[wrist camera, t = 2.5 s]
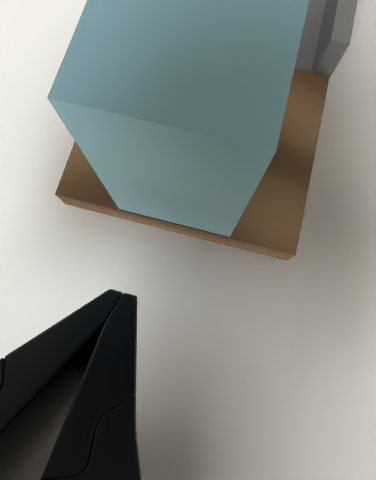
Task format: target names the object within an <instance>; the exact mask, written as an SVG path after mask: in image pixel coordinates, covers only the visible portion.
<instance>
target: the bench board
mask: <svg viewBox="0 0 376 480" xmlns="http://www.w3.org/2000/svg"><path fill="white" fill-rule="evenodd" d="M328 80H329V76H327V75H322V74H318V73H313V72H309V71H304V70H299V69H295V68H294V72H293V77H292V81H291V86H290V91H289V95H288V100H287V104H286V109H285V113H284V118H283V123H282V127H281V132H280V136H279V141H278V145H277V150H276V153H275V155H274V156H273V158H272V160H271V162H270V164H269V166H268V168H267V169H266V171H265V173H264V175H263V177H262V179H261V180H260V182H259V184H258V186H257V188H256V190H255V192H254V193H253V195H252V197H251V199H250V201H249V203H248V204H247V206H246V208H245V210H244V212H243V214H242V216H241V217H240V219H239V221H238V223H237V225H236V227H235V228H234V230H233V232H232V234H231V236H230V237H228V236H224V235H220V234H216V233H212V232H208V231H204V230H200V229H196V228H192V227H188V226H184V225H180V224H176V223H172V222H168V221H165V220H161V219H157V218H153V217H149V216H145V215H141V214H137V213H133V212H129V211H125V210H121V209H119V208H118V207H117V205H116V203H115V202H114V200H113V199H112V197H111V196H110V194H109V193H108V191H107V190H106V188H105V186H104V185H103V183H102V182H101V180H100V179H99V177H98V176H97V174H96V172H95V171H94V169H93V168H92V166H91V165H90V163H89V162H88V160H87V158H86V157H85V155H84V154H83V152H82V151H81V149H80V148H79V146H78V144H77V143H76V141H75V143H74V145H73V148H72V151H71V153H70V156H69V159H68V161H67V164H66V167H65V169H64V172H63V175H62V177H61V180H60V183H59V185H58V188H57V191H56V193H55V195H56V196H57V197H59V198H60V199H61V200H62V201H63V202H64V203H65V204H68V205H72V206H76V207H80V208H84V209H88V210H92V211H96V212H100V213H104V214H108V215H112V216H116V217H119V218H123V219H127V220H131V221H135V222H139V223H143V224H147V225H151V226H155V227H159V228H163V229H167V230H171V231H175V232H179V233H182V234H186V235H190V236H194V237H198V238H202V239H206V240H210V241H214V242H218V243H222V244H226V245H230V246H234V247H238V248H241V249H245V250H249V251H253V252H257V253H261V254H265V255H269V256H273V257H277V258H281V259H285V260H288V259H289V258H291V257H293V256H295V255H296V249H297V244H298V239H299V233H300V228H301V223H302V218H303V212H304V207H305V202H306V196H307V191H308V186H309V181H310V175H311V170H312V165H313V160H314V154H315V149H316V144H317V138H318V133H319V128H320V123H321V117H322V112H323V107H324V101H325V96H326V91H327V86H328Z"/></svg>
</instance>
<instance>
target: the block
mask: <svg viewBox="0 0 376 480" xmlns="http://www.w3.org/2000/svg"><path fill="white" fill-rule="evenodd" d="M308 4H309V0H87V2H86V5H85V7H84V10H83V12H82V15H81V17H80V20H79V22H78V24H77V27H76V29H75V32H74V34H73V37H72V39H71V41H70V44H69V46H68V49H67V51H66V54H65V56H64V58H63V61H62V63H61V66H60V68H59V71H58V73H57V76H56V78H55V80H54V83H53V85H52V88H51V90H50V93H49V95H48V97H47V98H48V99H49V101H50V103H51V104H52V106H53V107H54V109H55V110H56V112H57V113H58V115H59V117H60V118H61V120H62V121H63V123H64V124H65V126H66V127H67V129H68V131H69V132H70V134H71V135H72V137H73V138H74V140H75V141H76V143H77V144H78V146H79V148H80V149H81V151H82V152H83V154H84V155H85V157H86V158H87V160H88V162H89V163H90V165H91V166H92V168H93V169H94V171H95V172H96V174H97V176H98V177H99V179H100V180H101V182H102V183H103V185H104V186H105V188H106V190H107V191H108V193H109V194H110V196H111V197H112V199H113V200H114V202H115V203H116V205H117V207H118V208H119V209H121V210H125V211H129V212H133V213H137V214H141V215H145V216H149V217H153V218H157V219H161V220H165V221H168V222H172V223H176V224H180V225H184V226H188V227H192V228H196V229H200V230H204V231H208V232H212V233H216V234H220V235H224V236H228V237H230V236H231V234H232V232H233V230H234V228H235V227H236V225H237V223H238V221H239V219H240V217H241V216H242V214H243V212H244V210H245V208H246V206H247V204H248V203H249V201H250V199H251V197H252V195H253V193H254V192H255V190H256V188H257V186H258V184H259V182H260V180H261V179H262V177H263V175H264V173H265V171H266V169H267V168H268V166H269V164H270V162H271V160H272V158H273V156H274V155H275V153H276V150H277V145H278V141H279V136H280V132H281V127H282V123H283V118H284V113H285V109H286V104H287V100H288V95H289V91H290V86H291V81H292V77H293V72H294V68H295V63H296V59H297V54H298V50H299V45H300V40H301V36H302V31H303V27H304V22H305V18H306V13H307V8H308Z"/></svg>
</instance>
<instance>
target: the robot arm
mask: <svg viewBox="0 0 376 480" xmlns="http://www.w3.org/2000/svg"><path fill="white" fill-rule="evenodd" d="M136 357H137V297H136V296H134V295H131V294H127V293H124V294H123V293H122V292H120V291H116V290H112V289H110V290H108V291H106V292H104V293H103V294H101V295H100V296H98V297H97V298H95V299H94V300H92V301H90V302H89V303H87V304H86V305H84V306H83V307H81V308H80V309H78V310H76V311H75V312H73V313H72V314H70V315H69V316H67V317H66V318H64V319H62V320H61V321H59V322H58V323H56V324H55V325H53V326H51V327H50V328H48V329H47V330H45V331H44V332H42V333H41V334H39V335H37V336H36V337H34V338H33V339H31V340H30V341H28V342H27V343H25V344H23V345H22V346H20V347H19V348H17V349H16V350H14V351H13V352H11V353H9V354H8V355H6V356H5V359H4V358H1V359H0V480H142V478H141V471H140V463H139V454H138V444H137V433H136Z"/></svg>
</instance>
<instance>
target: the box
mask: <svg viewBox="0 0 376 480" xmlns="http://www.w3.org/2000/svg"><path fill="white" fill-rule="evenodd" d="M356 5H357V0H309V4H308V8H307V13H306V18H305V22H304V27H303V31H302V36H301V40H300V45H299V50H298V54H297V59H296V63H295V69H299V70H304V71H309V72H313V73H318V74H322V75H327V76H329V78H330V76H331V74H332V73H333V71H334V69H335V67H336V66H337V64H338V62H339V61H340V59H341V57H342V56H343V54H344V52H345V51H346V49H347V47H348V46H349V44H350V38H351V33H352V27H353V21H354V16H355V10H356Z"/></svg>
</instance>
